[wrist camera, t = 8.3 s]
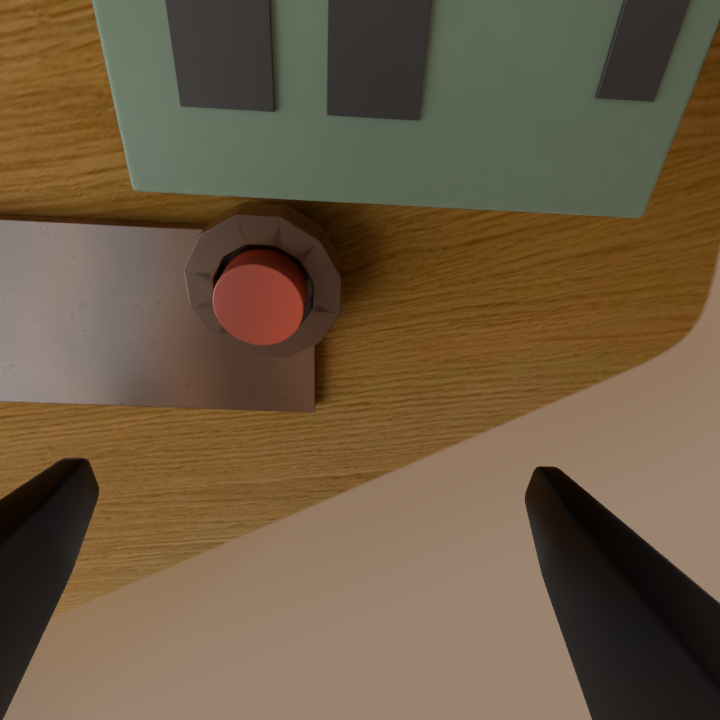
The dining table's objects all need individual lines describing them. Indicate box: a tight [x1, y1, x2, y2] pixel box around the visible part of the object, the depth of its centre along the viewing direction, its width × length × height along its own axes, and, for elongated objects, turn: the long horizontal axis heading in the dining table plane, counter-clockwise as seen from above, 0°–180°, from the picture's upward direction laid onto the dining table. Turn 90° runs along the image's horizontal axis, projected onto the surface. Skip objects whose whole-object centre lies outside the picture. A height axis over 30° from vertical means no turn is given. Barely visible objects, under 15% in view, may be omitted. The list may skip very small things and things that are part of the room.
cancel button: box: [212, 249, 307, 345], centre depth 19 cm, size 4×4×2 cm
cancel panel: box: [0, 202, 342, 412], centre depth 21 cm, size 19×11×2 cm, turn 87°
